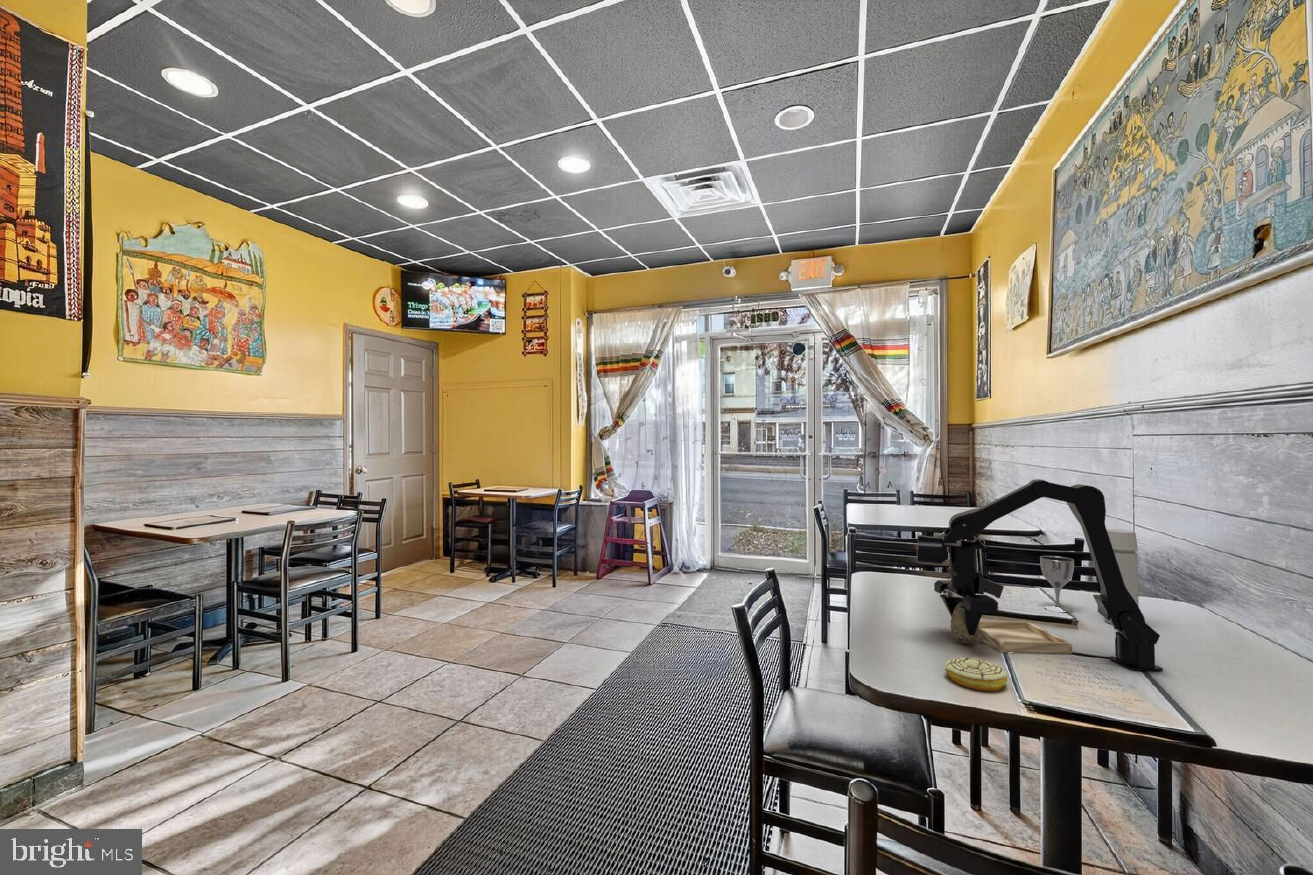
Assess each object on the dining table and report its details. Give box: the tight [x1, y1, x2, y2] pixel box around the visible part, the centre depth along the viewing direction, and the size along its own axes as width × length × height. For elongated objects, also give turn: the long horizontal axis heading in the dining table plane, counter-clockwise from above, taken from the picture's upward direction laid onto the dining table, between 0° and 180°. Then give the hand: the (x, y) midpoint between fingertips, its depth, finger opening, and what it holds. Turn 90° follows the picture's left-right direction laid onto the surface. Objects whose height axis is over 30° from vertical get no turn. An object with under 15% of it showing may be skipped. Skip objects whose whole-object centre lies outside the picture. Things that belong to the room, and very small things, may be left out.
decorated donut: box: [944, 657, 1008, 692], centre depth 109 cm, size 10×11×4 cm
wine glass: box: [1039, 555, 1075, 614], centre depth 158 cm, size 8×8×15 cm
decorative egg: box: [950, 602, 979, 645], centre depth 130 cm, size 6×6×10 cm
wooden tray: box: [977, 620, 1073, 655], centre depth 131 cm, size 16×16×2 cm
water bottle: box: [1103, 528, 1140, 625], centre depth 146 cm, size 9×8×25 cm
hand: (964, 630), depth 130 cm, fingers closed on decorative egg, 6 cm apart
